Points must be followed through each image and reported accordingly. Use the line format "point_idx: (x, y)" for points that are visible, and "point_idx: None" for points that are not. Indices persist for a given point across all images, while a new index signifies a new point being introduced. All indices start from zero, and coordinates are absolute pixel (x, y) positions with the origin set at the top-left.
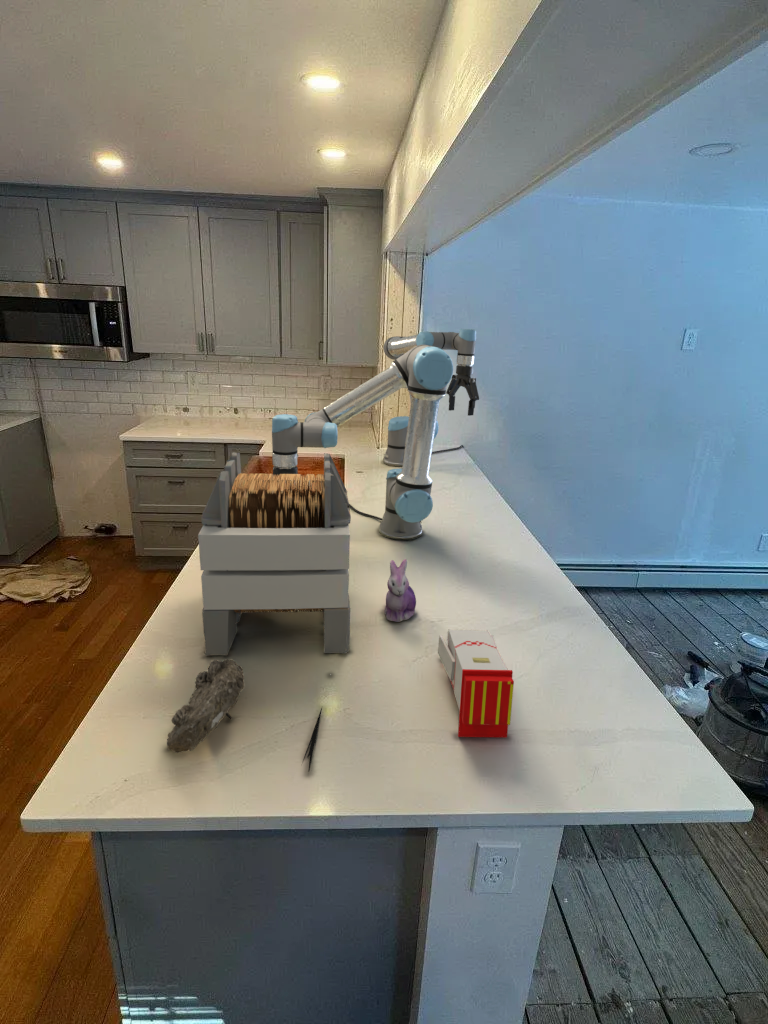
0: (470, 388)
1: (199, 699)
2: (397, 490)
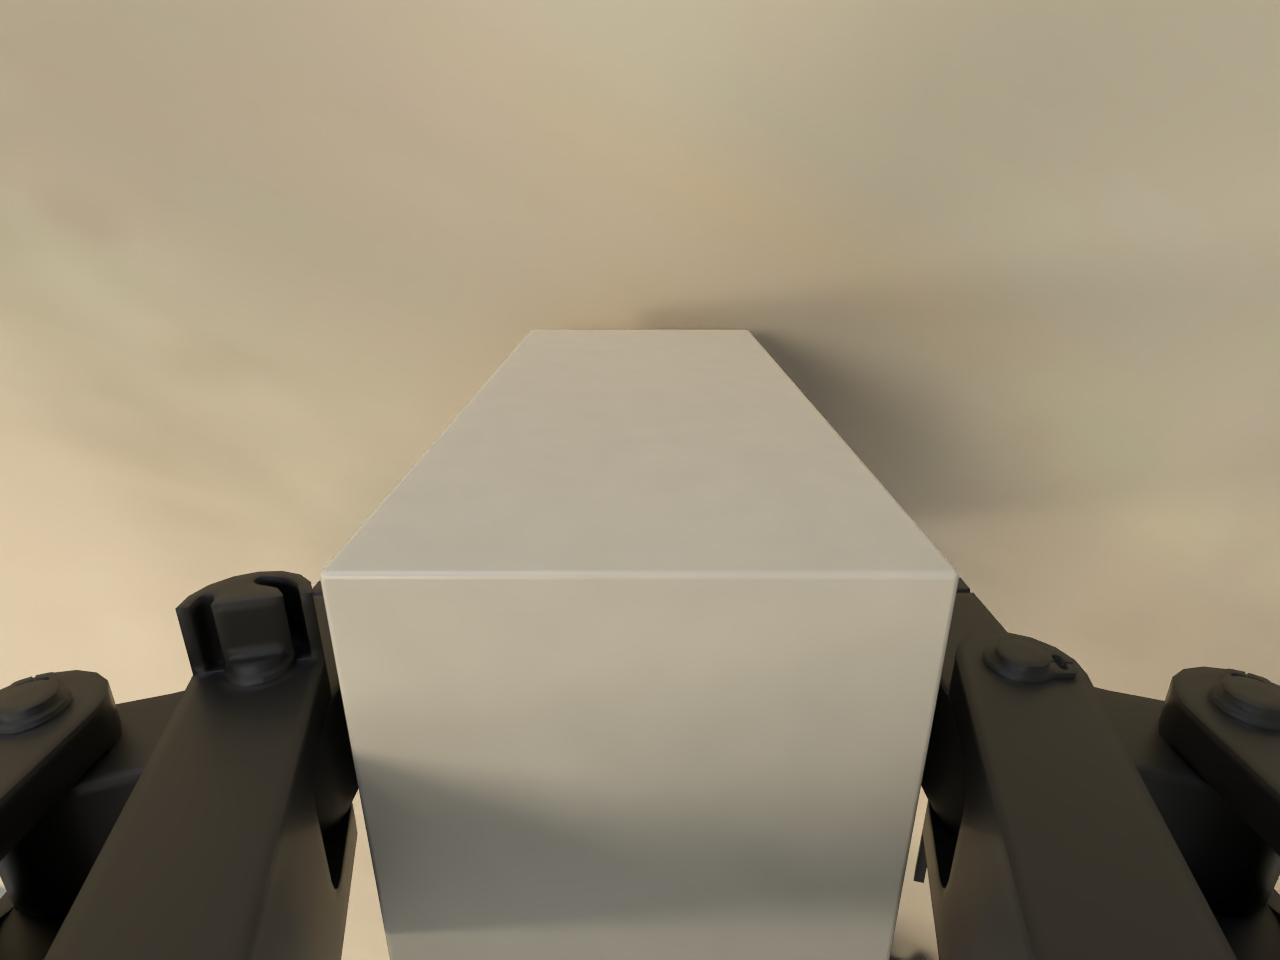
0: None
1: None
2: None
